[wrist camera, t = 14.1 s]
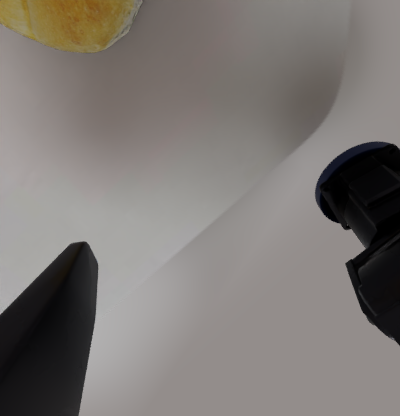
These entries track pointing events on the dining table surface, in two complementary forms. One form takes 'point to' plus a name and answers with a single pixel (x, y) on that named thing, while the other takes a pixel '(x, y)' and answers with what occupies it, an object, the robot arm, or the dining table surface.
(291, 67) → the dining table surface
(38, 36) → the bread roll
